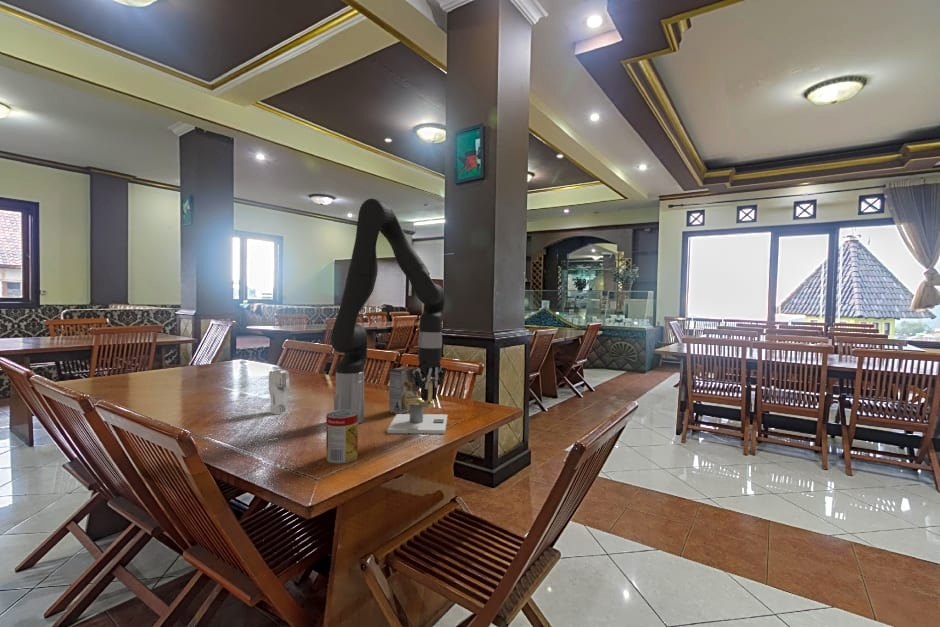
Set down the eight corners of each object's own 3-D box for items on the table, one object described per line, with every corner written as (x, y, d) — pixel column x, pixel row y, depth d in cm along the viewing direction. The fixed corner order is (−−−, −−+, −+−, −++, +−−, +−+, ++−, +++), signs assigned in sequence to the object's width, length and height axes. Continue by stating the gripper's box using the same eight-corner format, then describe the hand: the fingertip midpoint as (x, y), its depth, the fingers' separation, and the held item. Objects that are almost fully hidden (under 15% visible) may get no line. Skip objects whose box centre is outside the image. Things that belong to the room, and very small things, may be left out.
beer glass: (284, 414, 155) (284, 373, 154) (265, 414, 155) (264, 373, 154) (292, 409, 162) (292, 370, 161) (274, 409, 162) (273, 369, 161)
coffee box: (405, 407, 168) (405, 365, 168) (417, 409, 165) (418, 367, 164) (388, 412, 160) (388, 369, 160) (401, 414, 157) (401, 370, 156)
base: (387, 433, 136) (387, 410, 135) (396, 417, 154) (396, 397, 153) (444, 434, 136) (444, 411, 135) (447, 417, 154) (447, 397, 153)
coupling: (421, 409, 135) (421, 383, 135) (402, 401, 145) (402, 377, 145) (440, 406, 139) (440, 380, 139) (419, 399, 149) (420, 375, 149)
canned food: (360, 452, 119) (360, 409, 118) (353, 463, 111) (353, 417, 110) (331, 452, 118) (331, 409, 118) (322, 463, 111) (322, 417, 110)
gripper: (421, 348, 130) (419, 405, 131) (453, 345, 140) (452, 398, 141) (405, 346, 135) (403, 400, 136) (438, 343, 146) (436, 394, 146)
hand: (428, 399), depth 138 cm, fingers closed on coupling, 2 cm apart
